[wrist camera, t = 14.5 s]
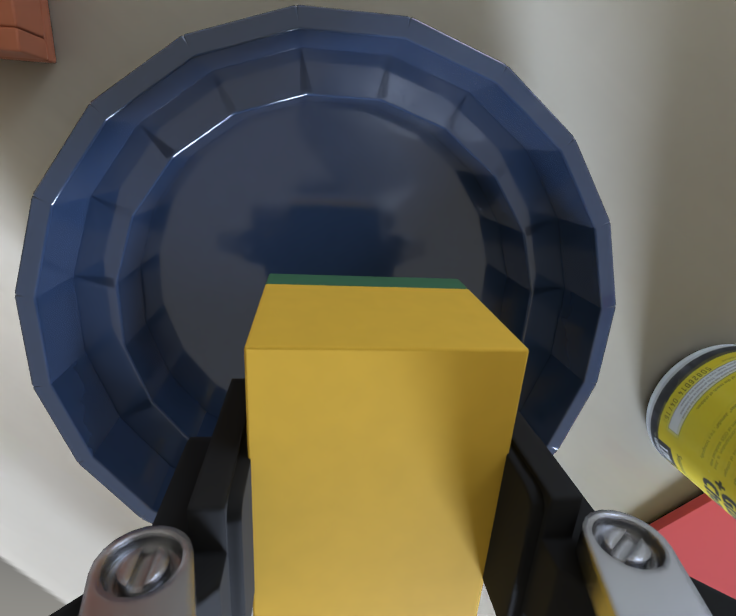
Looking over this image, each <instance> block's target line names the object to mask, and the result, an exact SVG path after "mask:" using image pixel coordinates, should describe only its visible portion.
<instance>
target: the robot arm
mask: <svg viewBox="0 0 736 616" xmlns="http://www.w3.org/2000/svg"><path fill="white" fill-rule="evenodd" d="M482 579H483V581H484V584H485V587H486V589H487V592H488V594H489V597H490V600H491V602H492V605H493V608H494V610H495V613H496V616H736V599H734V598H732V597H730V596H728V595H726V594H724V593H722V592H720V591H718V590H716V589H714V588H712V587H710V586H708V585H706V584H704V583H702V582H700V581H698V580H696V579H694V578H692V577H690V576H689V575H688V573H687V572H686V570H685V568H684V567H683V565H682V563H681V562H680V560H679V558H678V556H677V555H676V553H675V551H674V550H673V548H672V547H671V545H670V544H669V543H668V542H667V540H666V539H665V538H664V537H663V536H662V535H661V534H660V533H659V532H658V531H656V530H655V529H654V528H653V527H652V526H650V525H648V524H647V523H645V522H643V521H642V520H640V519H638V518H636V517H633V516H631V515H629V514H626V513H622V512H618V511H614V510H598V511H594V510H593V509H592V507H591V506H590V505H589V503H588V502H587V501H586V499H585V498H584V497H583V495H582V494H581V492H580V491H579V490H578V488H577V487H576V486H575V484H574V483H573V482H572V480H571V479H570V478H569V476H568V475H567V474H566V472H565V471H564V470H563V468H562V467H561V466H560V464H559V463H558V462H557V460H556V459H555V458H554V456H553V455H552V454H551V452H550V451H549V450H548V448H547V447H546V446H545V444H544V443H543V442H542V440H541V439H540V438H539V437H538V436H537V435H536V433H535V432H534V431H533V429H532V428H531V427H530V425H529V424H528V423H527V421H526V420H525V419H524V417H523V416H522V415H521V413H520V412H519V411H518V409H517V414H516V419H515V424H514V429H513V434H512V439H511V444H510V449H509V454H507V456H506V461H505V466H504V471H503V476H502V481H501V486H500V491H499V496H498V502H497V507H496V512H495V517H494V522H493V527H492V532H491V537H490V542H489V548H488V553H487V558H486V563H485V568H484V573H483V578H482ZM254 593H255V580H254V548H253V516H252V484H251V459H249V458H248V450H247V421H246V391H245V379H232V380H231V382H230V385H229V388H228V391H227V394H226V397H225V400H224V403H223V406H222V408H221V411H220V414H219V417H218V420H217V423H216V426H215V429H214V432H213V435H212V436H210V437H190V438H189V440H188V441H187V443H186V446H185V448H184V450H183V453H182V455H181V458H180V460H179V462H178V465H177V467H176V469H175V472H174V474H173V477H172V479H171V481H170V484H169V486H168V489H167V491H166V493H165V496H164V498H163V500H162V503H161V505H160V508H159V510H158V512H157V515H156V517H155V520H154V522H153V524H152V526H147V527H143V528H140V529H137V530H133V531H131V532H129V533H127V534H125V535H123V536H121V537H119V538H117V539H116V540H114V541H113V542H112V543H111V544H109V545H108V546H107V547H106V548H104V549H103V550H102V552H101V553H100V554H99V555H98V557H97V558H96V559H95V560H94V562H93V564H92V566H91V569H90V571H89V573H88V577H87V581H86V585H85V590H84V594H83V595H81V596H80V597H78V598H76V599H75V600H73V601H72V602H70V603H69V604H67V605H65V606H64V607H62V608H61V609H60V610H58V611H56V612H54V613H53V614H51V615H50V616H251V615H252V608H253V600H254Z"/></svg>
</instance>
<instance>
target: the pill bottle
mask: <svg viewBox="0 0 736 616" xmlns="http://www.w3.org/2000/svg"><path fill="white" fill-rule="evenodd" d="M646 425H647V431H648V434H649V437H650V439H651V442H652V443H653V445H654V447H655V448H656V449H657V450H658V452H659V453H660V454H661V455H662V456H663V457H664V458H665V459H667V460H668V461H669V462H670V463H671V464H672V465H673V466H675V467H676V468H677V469H678V470H679V471H680V472H681V473H683V474H684V475H685V476H686V477H687V478H688V479H690V480H691V481H692V482H693V483H694V484H695V485H696V486H698V487H699V488H700V489H701V490H702V491H703V492H704V493H706V494H707V495H708V496H709V497H710V498H711V499H712V500H714V501H715V502H716V503H717V504H718V505H719V506H720V507H722V508H723V509H724V510H725V511H726V512H727V513H729V514H730V515H731V516H732V517H733V518H734V519H736V344H723V345H716V346H711V347H708V348H704V349H702V350H699V351H697V352H695V353H693V354H691V355H689V356H687V357H686V358H684V359H682V360H681V361H680V362H678V363H677V364H676V365H675V366H673V367H672V368H671V369H670V370H669V371H668V372H667V373H666V374H665V375H664V377H663V378H662V379H661V380H660V382H659V383H658V385H657V386H656V388H655V390H654V392H653V393H652V396H651V398H650V401H649V404H648V408H647V414H646Z"/></svg>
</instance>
